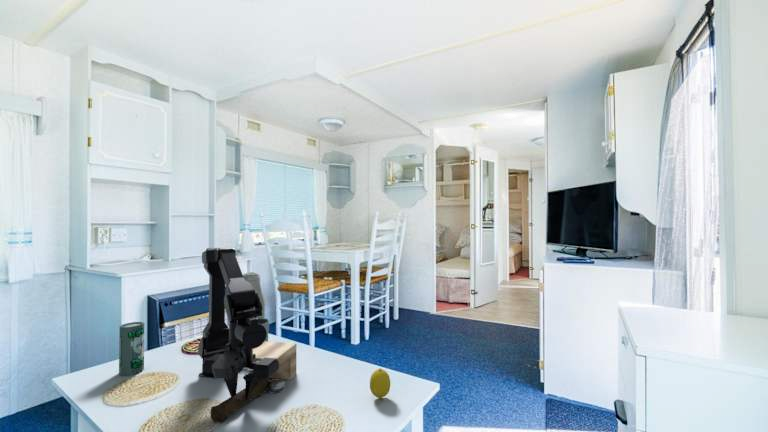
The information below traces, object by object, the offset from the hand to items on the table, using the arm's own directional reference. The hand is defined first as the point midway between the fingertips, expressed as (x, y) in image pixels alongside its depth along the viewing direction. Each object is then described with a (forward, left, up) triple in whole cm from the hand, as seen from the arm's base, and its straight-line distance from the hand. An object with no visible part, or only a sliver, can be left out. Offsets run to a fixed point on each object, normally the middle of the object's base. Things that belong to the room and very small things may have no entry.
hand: (240, 398), depth 87 cm
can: (-47, +13, -2) cm, 49 cm away
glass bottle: (-24, +43, -2) cm, 49 cm away
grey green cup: (-16, +33, -2) cm, 37 cm away
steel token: (+4, +10, -2) cm, 11 cm away
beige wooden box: (0, +14, -2) cm, 14 cm away
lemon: (+35, +11, -2) cm, 36 cm away
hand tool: (0, +2, -3) cm, 3 cm away
